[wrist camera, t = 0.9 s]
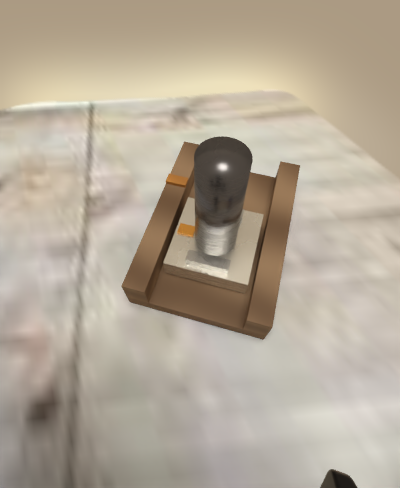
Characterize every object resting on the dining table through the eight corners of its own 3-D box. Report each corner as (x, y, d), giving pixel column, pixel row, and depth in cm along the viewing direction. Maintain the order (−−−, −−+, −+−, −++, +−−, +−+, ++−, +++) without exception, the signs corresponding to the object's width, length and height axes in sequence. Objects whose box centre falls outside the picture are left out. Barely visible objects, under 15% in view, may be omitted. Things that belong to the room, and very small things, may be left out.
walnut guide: (263, 339, 23) (273, 326, 20) (129, 301, 24) (120, 284, 21) (290, 189, 29) (300, 162, 26) (185, 166, 31) (184, 138, 28)
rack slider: (244, 293, 23) (271, 216, 15) (165, 272, 24) (147, 188, 16) (260, 226, 26) (289, 129, 18) (188, 209, 27) (184, 109, 18)
